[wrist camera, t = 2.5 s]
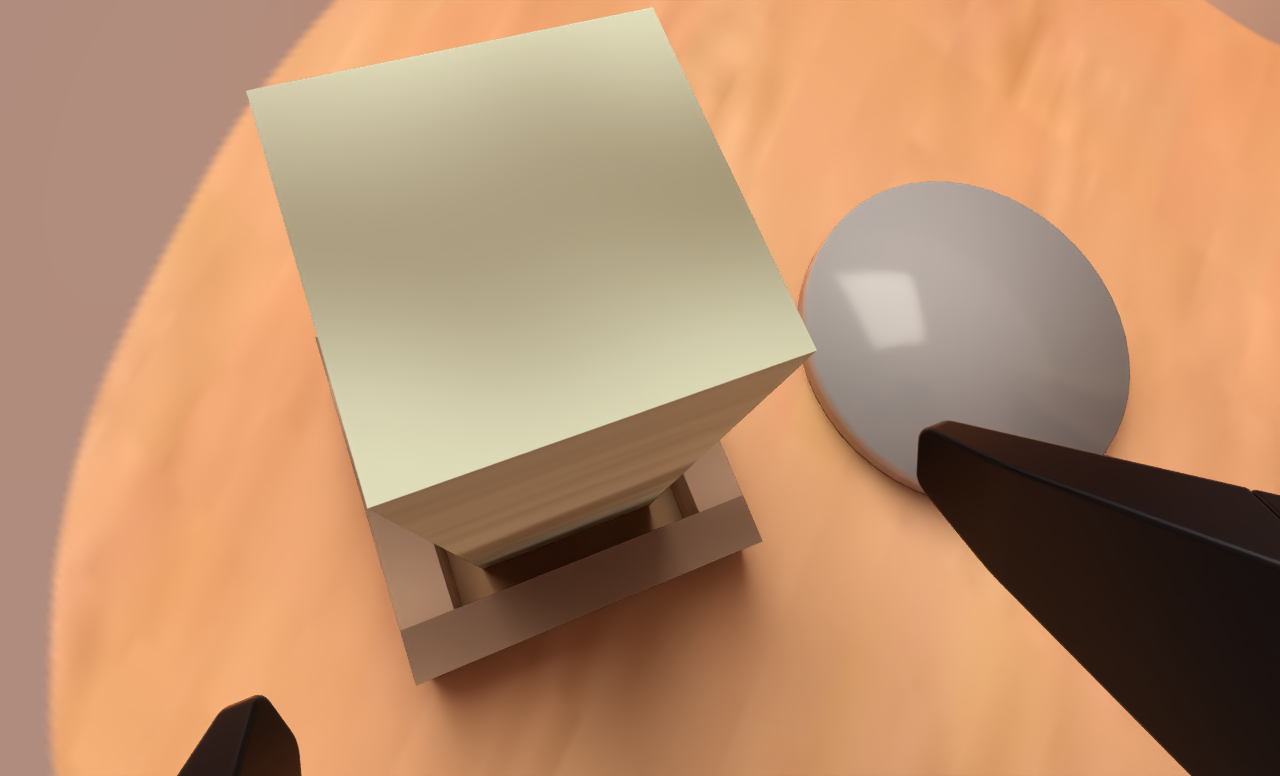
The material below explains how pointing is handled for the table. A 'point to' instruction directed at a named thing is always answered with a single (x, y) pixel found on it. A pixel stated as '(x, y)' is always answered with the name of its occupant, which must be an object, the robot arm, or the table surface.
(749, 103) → the table surface
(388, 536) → the pocket block
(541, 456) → the tall khaki square post
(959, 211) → the coaster
